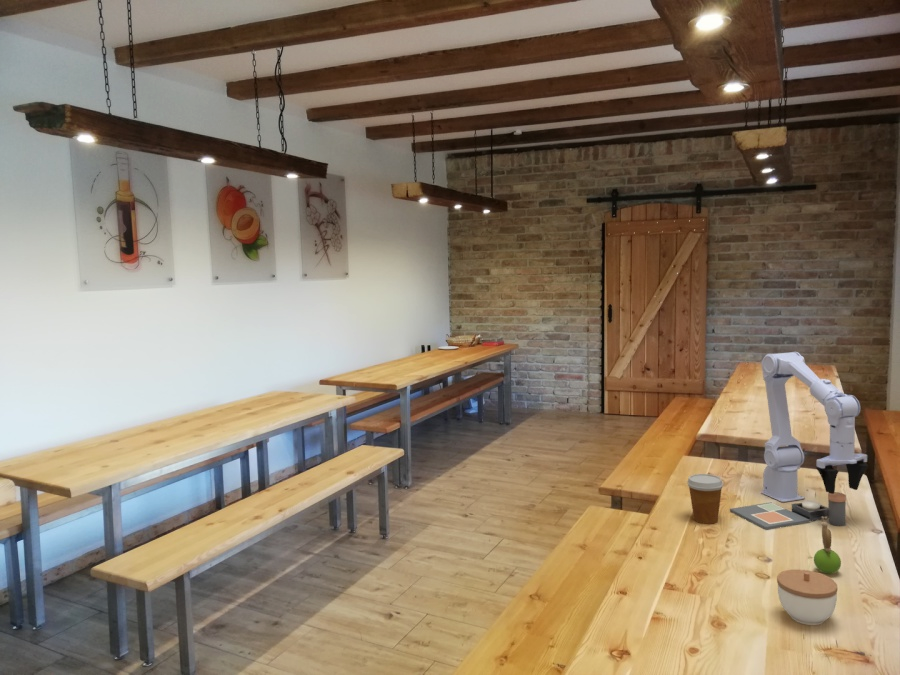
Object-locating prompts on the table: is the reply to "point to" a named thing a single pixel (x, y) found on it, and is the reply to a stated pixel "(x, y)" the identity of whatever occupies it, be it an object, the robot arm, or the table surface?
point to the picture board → (769, 516)
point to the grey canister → (837, 509)
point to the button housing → (810, 512)
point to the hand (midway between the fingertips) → (841, 490)
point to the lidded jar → (807, 595)
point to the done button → (810, 505)
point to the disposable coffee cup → (705, 497)
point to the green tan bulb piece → (827, 553)
